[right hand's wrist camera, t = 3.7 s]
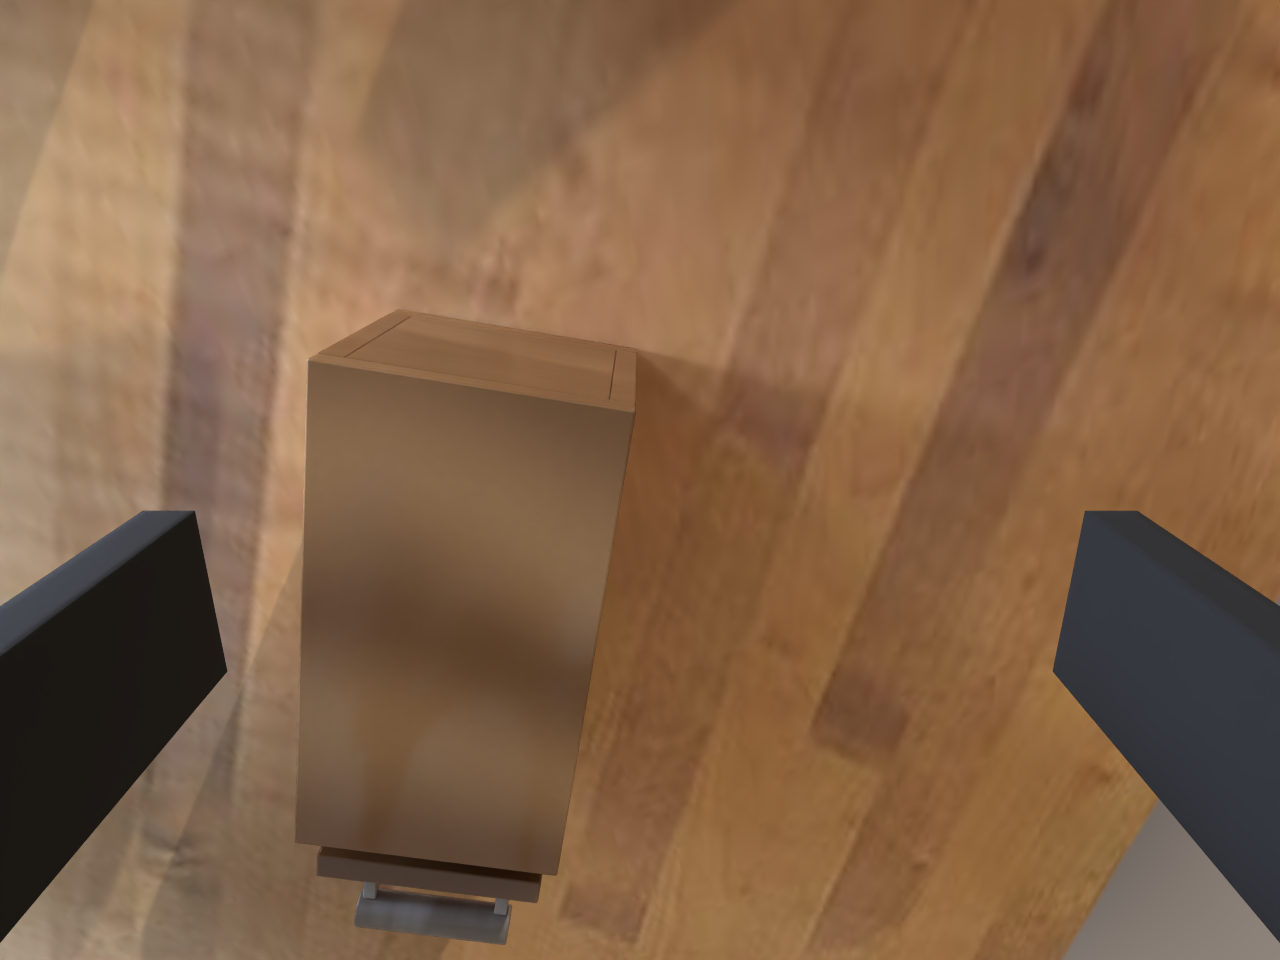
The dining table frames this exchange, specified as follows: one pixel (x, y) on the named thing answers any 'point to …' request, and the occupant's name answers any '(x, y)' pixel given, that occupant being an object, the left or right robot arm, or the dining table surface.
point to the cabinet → (454, 584)
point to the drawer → (425, 909)
